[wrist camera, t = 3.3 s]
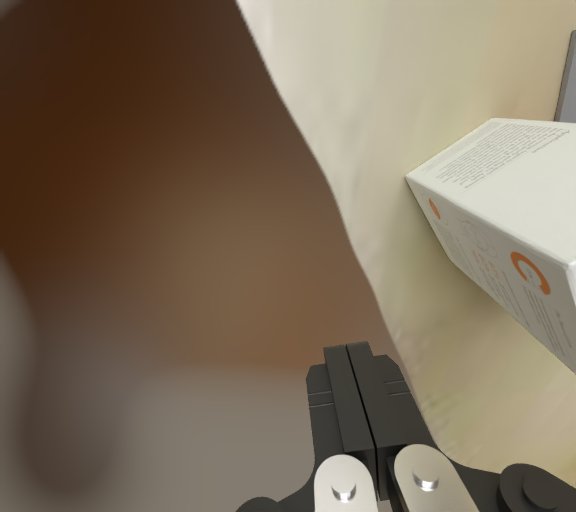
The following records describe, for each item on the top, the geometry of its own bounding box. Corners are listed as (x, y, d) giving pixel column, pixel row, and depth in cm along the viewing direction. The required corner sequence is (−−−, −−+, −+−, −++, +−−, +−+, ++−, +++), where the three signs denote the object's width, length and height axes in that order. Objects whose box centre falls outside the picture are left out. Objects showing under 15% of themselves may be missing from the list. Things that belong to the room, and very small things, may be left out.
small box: (531, 213, 23) (808, 338, 11) (448, 261, 24) (613, 416, 12) (494, 112, 19) (824, 134, 8) (401, 174, 21) (561, 270, 9)
